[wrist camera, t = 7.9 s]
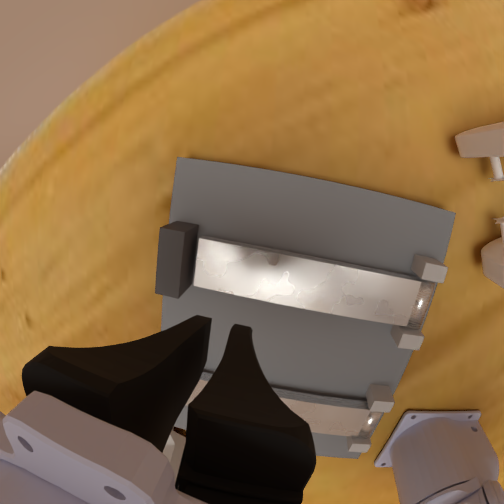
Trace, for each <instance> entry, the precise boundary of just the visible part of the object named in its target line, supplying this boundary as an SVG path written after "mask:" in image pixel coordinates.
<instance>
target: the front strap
mask: <svg viewBox="0 0 504 504" xmlns="http://www.w3.org/2000/svg"><path fill="white" fill-rule="evenodd" d="M194 286H197V287H202V288H206V289H210V290H215V291H219V292H224V293H229V294H233V295H238V296H243V297H247V298H252V299H257V300H262V301H267V302H271V303H276V304H281V305H287V306H292V307H297V308H302V309H307V310H313V311H318V312H323V313H329V314H334V315H340V316H346V317H351V318H357V319H363V320H369V321H375V322H381V323H387V324H393V325H400V326H406V327H409V328H412V329H419V328H420V327H421V325H422V322H423V319H424V316H425V314H426V311H427V308H428V305H429V302H430V299H431V296H432V293H433V290H434V287H435V282H433V281H429V280H424V279H421V278H420V277H415V276H410V275H405V274H400V273H395V272H390V271H385V270H380V269H375V268H370V267H365V266H360V265H355V264H350V263H345V262H340V261H335V260H330V259H325V258H320V257H315V256H310V255H305V254H300V253H295V252H290V251H285V250H279V249H274V248H269V247H264V246H259V245H254V244H249V243H243V242H238V241H233V240H228V239H223V238H217V237H212V236H207V235H203V236H202V237H200V238H199V242H198V251H197V259H196V268H195V277H194Z"/></svg>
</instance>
